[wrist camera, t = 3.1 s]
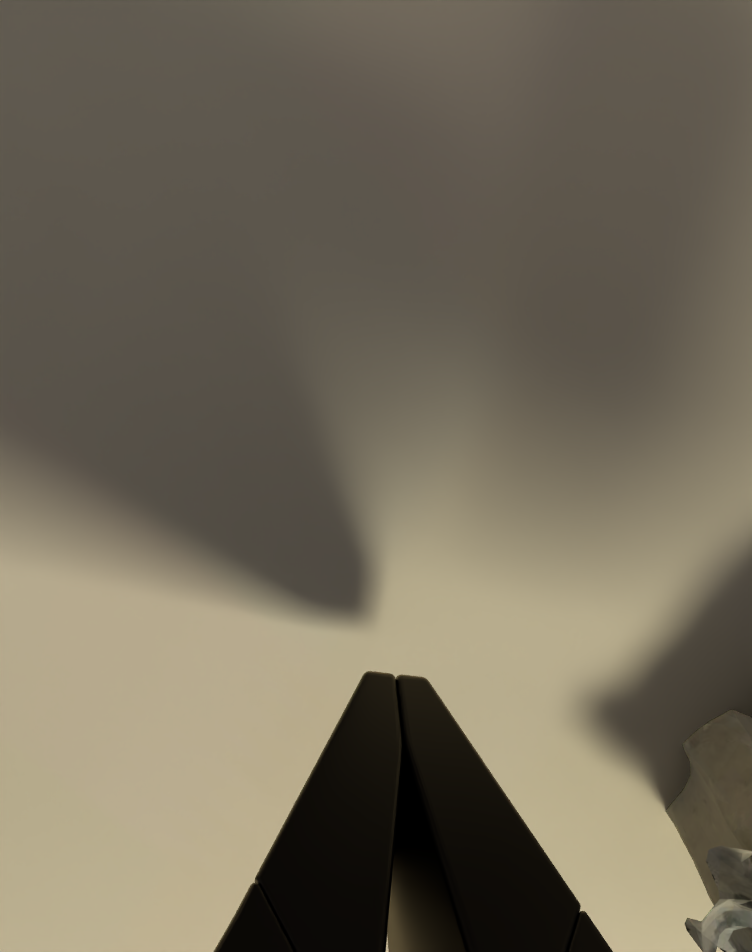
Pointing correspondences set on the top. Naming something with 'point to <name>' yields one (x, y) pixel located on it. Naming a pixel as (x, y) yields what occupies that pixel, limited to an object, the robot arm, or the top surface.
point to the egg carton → (720, 829)
